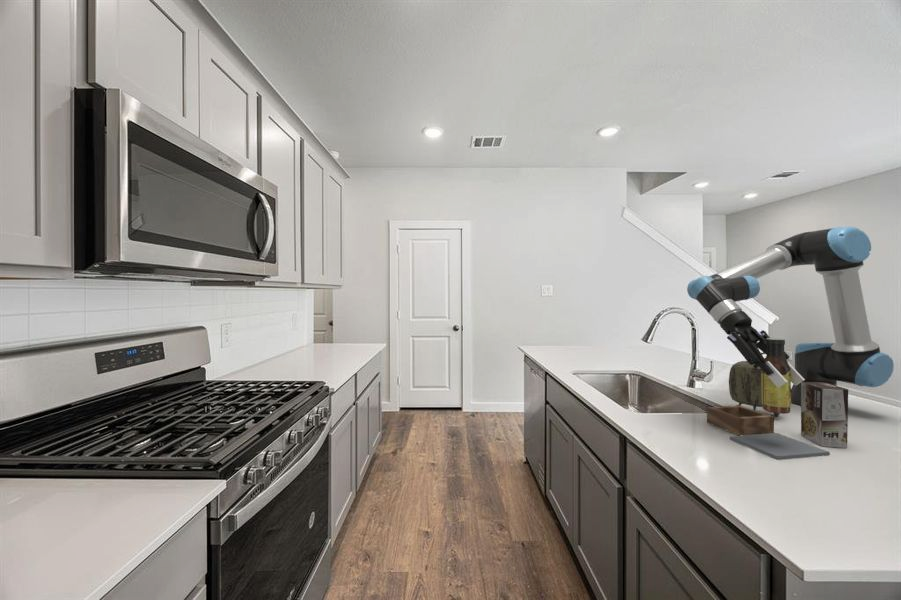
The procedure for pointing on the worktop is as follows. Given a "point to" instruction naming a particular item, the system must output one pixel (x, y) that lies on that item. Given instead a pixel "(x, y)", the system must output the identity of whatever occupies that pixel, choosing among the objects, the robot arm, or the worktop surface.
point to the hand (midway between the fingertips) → (791, 383)
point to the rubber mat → (779, 446)
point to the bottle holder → (740, 420)
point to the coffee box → (824, 414)
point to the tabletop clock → (746, 384)
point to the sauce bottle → (771, 394)
